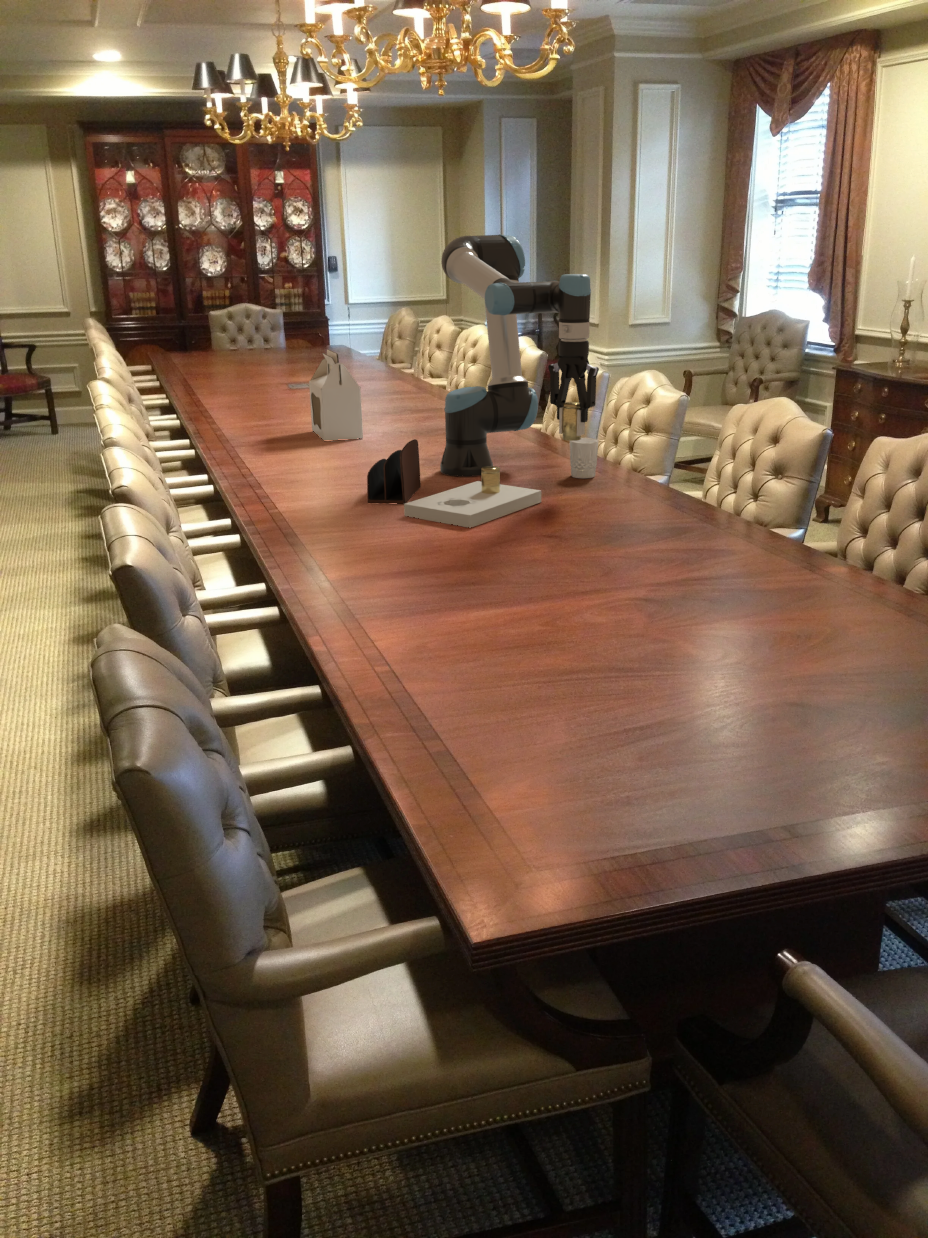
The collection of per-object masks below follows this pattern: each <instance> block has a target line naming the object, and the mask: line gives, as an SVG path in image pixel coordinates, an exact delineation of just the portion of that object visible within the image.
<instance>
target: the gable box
mask: <svg viewBox="0 0 928 1238" xmlns="http://www.w3.org/2000/svg"><path fill="white" fill-rule="evenodd" d="M322 356H323V357H324V358H322V360H321V361H320V364H319V365H318V367H317V368H316V370H315V372H314V373H313V375H312V376H311V379H309V381H308V387H309V388H308V389H309V401H310V403H309V404H310V417H311V430H313V431H314V432H315V433H316V434H318V435H319V436H320V437H321V438H322V439H323V440H338V439H357V438H363V439H364V431H363V430H364V429H363V412H362V411H363V410H362V408H363V407H362V391H361V388H362V387H361V386H360V384H359V383H358V382H357V381H356V379H355V377H353V375H352V374H351V371H349V369H348V368H347V367H346V365H345V364H343V363H342V362H340V360H339V359H340V358H339V353H337V352H335V351H334V350H333V351H332V350H331V349H327V350H326V353H322ZM313 431H312V432H313ZM314 432H313V433H314ZM315 433H314V434H315ZM316 434H315V435H316ZM320 437H319V438H320ZM321 438H320V439H321ZM322 439H321V440H322ZM323 440H322V441H323Z"/></svg>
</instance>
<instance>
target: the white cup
mask: <svg viewBox="0 0 928 1238" xmlns="http://www.w3.org/2000/svg"><path fill="white" fill-rule="evenodd" d="M598 450H599V439H597V438H591V437H581V439H580V440H576V441H569V461H570V476H571V477H572V478H576V479H591V478H595V477H596V472H597V471H596V470H597V464H598V455H599V453H598Z"/></svg>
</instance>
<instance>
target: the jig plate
mask: <svg viewBox="0 0 928 1238" xmlns="http://www.w3.org/2000/svg"><path fill="white" fill-rule="evenodd" d="M539 503H542V490H540V489H535V488H534V489H533V488H527V487H520V486H515V485H507V484H501V483H500V492H499V493H494V494H486V493H482V481H480V480H477V481H473V482H470V483H466V484H464V485H460V486H457V487H454V488H451V489H450V488H449V489H448V490H444V491H442V492H438V493H433V494H432V495H429V496H424V497H421V498H419V499H415V500H413V501H409V502H406V503H405V504H403V509H404V511H403V513H404V517H407V516H409V518H413V517H415V518H414V519H418V518H419V519H420V520H425V521H429V522H436V523H440V522H441V523H442V524H446V525H451V524H453V525H452V526H457V525H458V527H464V528H468V527H469V529H471V527H472V528H474V527H477V526H479V525H482V524H486V523H488V522H490V521H492V520H497V519H499V518H501V517H504V516H506V515H510V514H513V513H515V512H518V511H520V510H524V509H526V508H529V507H532V506H534V505H537V504H539ZM441 523H440V524H441Z"/></svg>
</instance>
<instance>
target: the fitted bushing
mask: <svg viewBox="0 0 928 1238" xmlns="http://www.w3.org/2000/svg"><path fill="white" fill-rule="evenodd" d="M500 475H501V468H500V467H499V466H496V465H493V466H486V467H482V468H481V475H480V476H481V479H480V480H481V482H482V493H486V494H494V493H499V492H500V484H501V481H500V480H501V478H500V477H501V476H500Z"/></svg>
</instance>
